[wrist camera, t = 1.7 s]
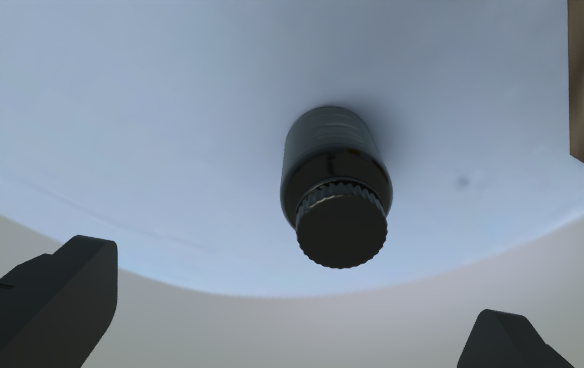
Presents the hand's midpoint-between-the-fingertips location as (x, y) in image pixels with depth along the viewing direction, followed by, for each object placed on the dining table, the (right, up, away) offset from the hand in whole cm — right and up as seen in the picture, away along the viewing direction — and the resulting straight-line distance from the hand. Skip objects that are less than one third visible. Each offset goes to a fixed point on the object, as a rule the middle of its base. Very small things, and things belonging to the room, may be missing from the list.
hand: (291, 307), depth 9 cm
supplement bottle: (+3, +6, +22) cm, 23 cm away
